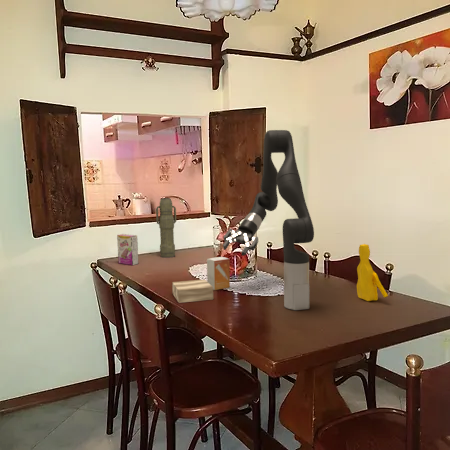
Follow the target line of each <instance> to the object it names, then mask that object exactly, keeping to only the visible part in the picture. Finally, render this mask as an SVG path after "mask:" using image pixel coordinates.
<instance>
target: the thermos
mask: <svg viewBox="0 0 450 450" xmlns="http://www.w3.org/2000/svg"><path fill="white" fill-rule="evenodd" d="M155 214H156V215H155V216H156V217H155V218H156V224H157V225H159V227H158V228H159V230H160V231H159V232H160V245H159V253H160V258H163V259H164V258H165V259H167V258H174V257H176V244H175V238H174V236H175V235H174V234H175V232H174V228H175V224H176V223H177V208H176V206H175V205H173V201H172V198H169V197H162V198H160V199H159V204H158V206H156V208H155Z"/></svg>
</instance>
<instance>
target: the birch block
mask: <svg viewBox="0 0 450 450" xmlns="http://www.w3.org/2000/svg"><path fill="white" fill-rule="evenodd" d="M171 284H172V285H171V286H172V287H171V288H172V290H171V291H172V295H173V296H174V298H175V299H176V301H177V302H178V303H179V304H181V303H189V302H191V303H192V302H200V301H201V302H202V301H212V300H214V290H213V287H212V286H211V285H210V284H209V283H208V282H207V279H205V278H204V279H203V278H202V279H194V280H182V281H172V282H171Z"/></svg>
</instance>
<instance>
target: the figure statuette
mask: <svg viewBox="0 0 450 450" xmlns="http://www.w3.org/2000/svg"><path fill="white" fill-rule="evenodd" d="M358 255H359V259H360V260H359V264H358V266H356V267H357V268H356V271H357V278H358V279H357V283H356V292H357V293H356V294H357V297H358V299H362V300H363V301H367V302H371V301H378V299H379V295H378V291H380V293H381V296H382V297H383V298H384V299H385V298H387V297H389V294H388V293H387V292H386V290H385V288H384V286H383V285H382V283H381V281H380V279H379V276H378V274H377V273H376V272H375V271H374V270H373V267H372V265H371V263H370V255H371V249H370V245H369V244H366V243H363V244H359V248H358Z"/></svg>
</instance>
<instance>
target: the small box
mask: <svg viewBox="0 0 450 450" xmlns="http://www.w3.org/2000/svg"><path fill="white" fill-rule="evenodd" d="M230 263H231V262H230V258H228V257H225V256H218V257H217V256H216V257H211V258H206V274H207V276H206V281H207V282H208V283H209V284H210V285H211V286H212V287H213V291H216V290H223V289H229V287H230V285H231V283H230V281H231V280H230V279H231V278H230V277H231V276H230V275H231V274H230V272H231V271H230V267H231V266H230ZM230 288H231V287H230Z"/></svg>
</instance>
